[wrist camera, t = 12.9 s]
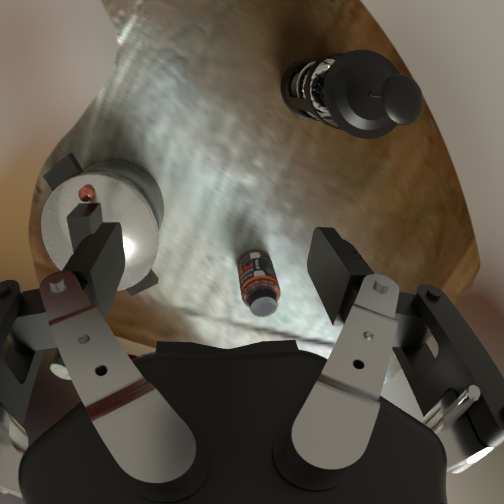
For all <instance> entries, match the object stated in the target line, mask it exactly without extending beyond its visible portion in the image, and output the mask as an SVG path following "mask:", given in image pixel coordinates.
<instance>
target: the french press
mask: <svg viewBox="0 0 504 504" xmlns="http://www.w3.org/2000/svg"><path fill="white" fill-rule="evenodd" d="M333 56H340V57H339V58H338V59H336V60H331V59H328V58H330V57H333ZM302 69H303V70H302ZM300 70H302V71H301V73H300V75H299V77H298V80H297V87H296V91H297V97H298V98H297V97H293V96H292V93H291V83H292V80H293V78H294V76H295V75H296V73H298V72H299V71H300ZM281 92H282V97H283V99H284V102H285V103H286V105H287V106H288V108H289V109H290V110H291V111H292V112H293V113H295V114H296V115H298V116H300V117H302V118H305V119H309V120H317V121H322V122H323V123H325V124H327V125H329V126H331V127H333V128H336V129H340V130H344V131H345V132H347V133H349V134H351V135H353V136H356V137H359V138H364V139H373V138H378V137H381V136H384V135H386V134H387V133H389V132H391V131H392V130H393V129H394V128H395V127H396V126H397V124H399V125H408V124H411V123H413V122H414V121H416V120H417V119H418V117H419V116H420V114H421V112H422V108H423V95H422V92H421V89H420V87H419V86H418V84H417V83H416V82H415V81H414V80H413V79H412V78H411V77H409V76H407V75H404V74H400V73H399V71H398V70H397V69H396V67H395V66H394V65H393V64H392V63H391V62H390V61H389V60H388V59H387V58H385V57H384V56H382V55H380V54H378V53H376V52H373V51H368V50H355V51H351V52H347V53H341V54H333V55H328V56H324V57H319V58H315V59H304V60H301V61H298V62H296V63H294V64H293V65H292V66H290V67H289V68H288V70H287V71H286V72H285V74H284V76H283V79H282V83H281ZM326 121H327V122H326ZM332 121H333V122H336V124H337V125H338V126H339V127H337V126H333V125H331V124H329V123H328V122H332Z"/></svg>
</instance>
